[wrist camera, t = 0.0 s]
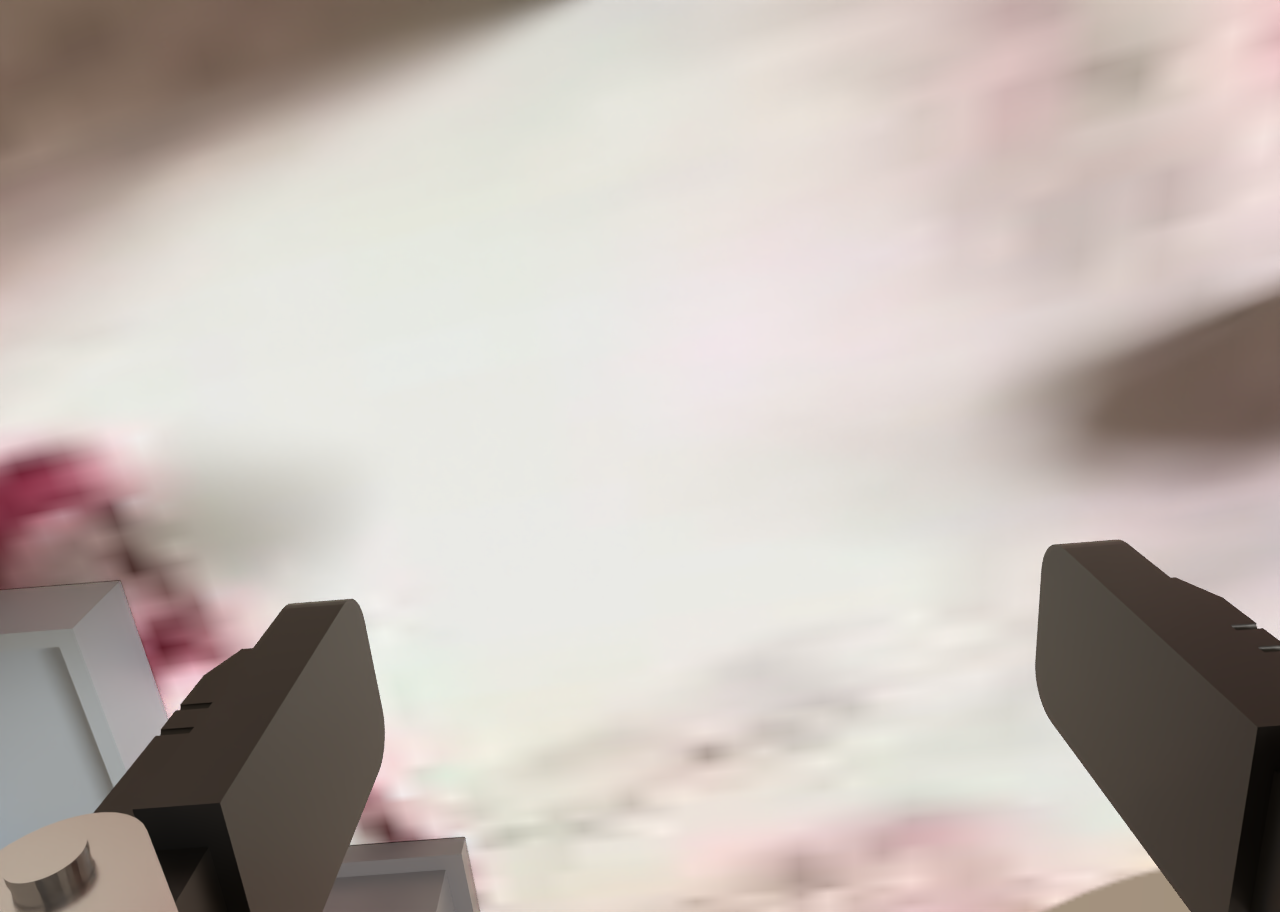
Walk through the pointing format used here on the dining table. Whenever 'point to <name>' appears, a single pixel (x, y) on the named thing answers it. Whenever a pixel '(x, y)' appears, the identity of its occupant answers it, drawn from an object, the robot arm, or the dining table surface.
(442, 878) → the socket block
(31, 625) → the tray
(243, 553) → the dining table surface
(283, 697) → the robot arm
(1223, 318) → the dining table surface
